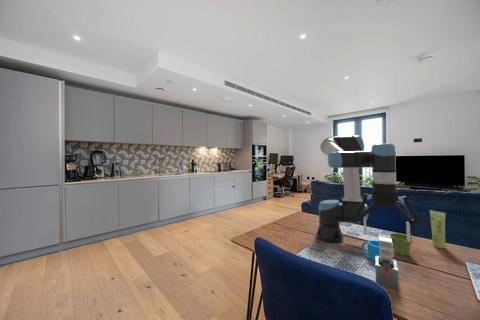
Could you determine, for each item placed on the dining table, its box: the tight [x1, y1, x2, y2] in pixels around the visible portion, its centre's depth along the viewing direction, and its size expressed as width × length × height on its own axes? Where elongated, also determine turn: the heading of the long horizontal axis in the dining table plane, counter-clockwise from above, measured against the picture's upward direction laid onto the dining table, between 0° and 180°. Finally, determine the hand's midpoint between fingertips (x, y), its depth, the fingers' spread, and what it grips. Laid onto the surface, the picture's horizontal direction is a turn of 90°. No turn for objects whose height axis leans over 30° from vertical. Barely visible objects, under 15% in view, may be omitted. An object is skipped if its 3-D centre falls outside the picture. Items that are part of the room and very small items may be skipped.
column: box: [378, 236, 394, 268], centre depth 76 cm, size 4×6×16 cm
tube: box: [429, 209, 447, 249], centre depth 106 cm, size 6×5×20 cm
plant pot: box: [389, 232, 414, 257], centre depth 100 cm, size 9×9×9 cm
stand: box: [375, 256, 400, 290], centre depth 76 cm, size 18×12×10 cm, turn 55°
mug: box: [361, 239, 380, 262], centre depth 95 cm, size 12×8×8 cm
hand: (385, 236), depth 76 cm, fingers open, 13 cm apart
